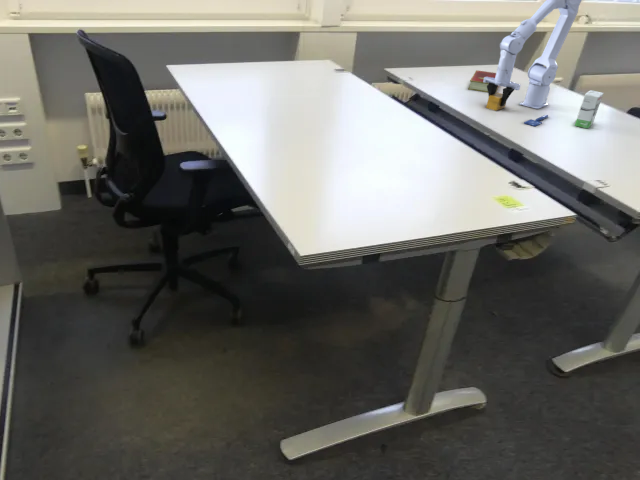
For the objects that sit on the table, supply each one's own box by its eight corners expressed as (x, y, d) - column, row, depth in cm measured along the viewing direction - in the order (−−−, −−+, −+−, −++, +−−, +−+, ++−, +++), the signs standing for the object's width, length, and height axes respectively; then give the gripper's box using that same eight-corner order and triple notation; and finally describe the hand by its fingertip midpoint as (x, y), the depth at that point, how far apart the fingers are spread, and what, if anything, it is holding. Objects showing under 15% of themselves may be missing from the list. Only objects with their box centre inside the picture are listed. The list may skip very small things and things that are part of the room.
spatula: (541, 115, 215) (542, 112, 215) (552, 118, 213) (553, 115, 212) (523, 123, 207) (524, 120, 206) (534, 126, 204) (535, 123, 203)
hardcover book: (500, 82, 256) (503, 73, 254) (496, 93, 240) (498, 83, 238) (474, 78, 260) (476, 69, 258) (468, 89, 244) (470, 79, 242)
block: (494, 104, 226) (497, 92, 223) (504, 107, 223) (508, 95, 220) (486, 108, 222) (489, 95, 219) (496, 110, 219) (499, 98, 216)
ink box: (587, 129, 204) (599, 97, 197) (573, 125, 206) (584, 94, 200) (593, 123, 210) (604, 92, 203) (579, 120, 212) (590, 89, 206)
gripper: (482, 67, 216) (474, 101, 224) (517, 74, 207) (508, 110, 215) (492, 64, 220) (483, 98, 228) (526, 72, 212) (516, 107, 219)
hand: (496, 104), depth 222 cm, fingers closed on block, 4 cm apart
